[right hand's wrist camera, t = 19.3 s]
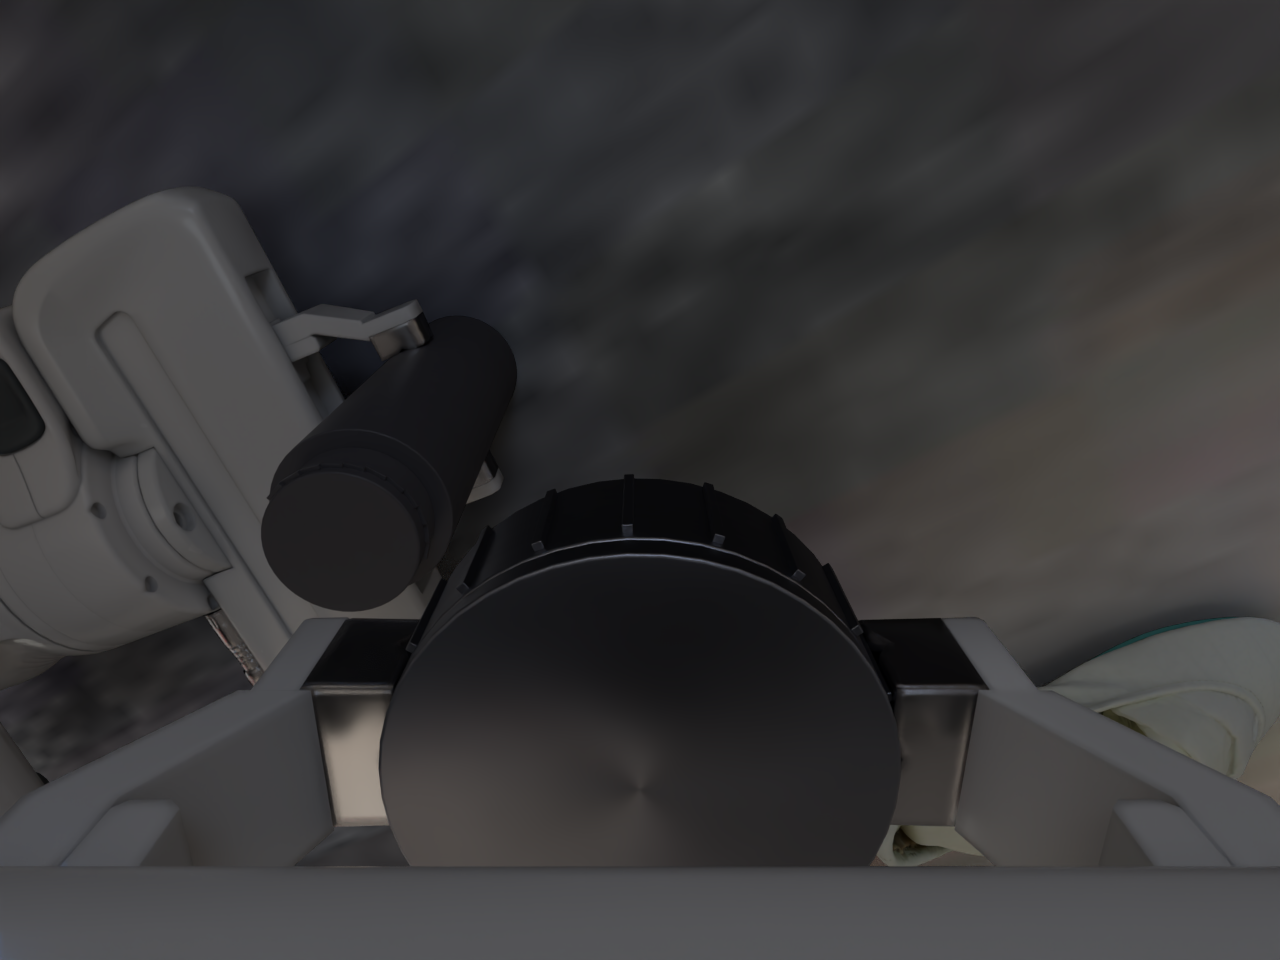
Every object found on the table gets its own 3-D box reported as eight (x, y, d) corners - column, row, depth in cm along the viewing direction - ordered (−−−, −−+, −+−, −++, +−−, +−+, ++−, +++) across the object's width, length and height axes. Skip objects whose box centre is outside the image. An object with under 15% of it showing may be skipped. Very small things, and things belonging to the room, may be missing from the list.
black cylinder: (539, 368, 36) (479, 540, 20) (469, 444, 37) (361, 661, 21) (453, 292, 34) (316, 411, 19) (383, 372, 36) (200, 549, 20)
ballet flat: (1278, 710, 44) (1411, 822, 37) (837, 826, 46) (881, 954, 39) (1276, 580, 41) (1421, 674, 34) (804, 711, 43) (844, 826, 36)
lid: (389, 480, 9) (324, 558, 7) (871, 459, 9) (931, 533, 7) (449, 851, 11) (411, 988, 9) (849, 838, 11) (892, 973, 9)
